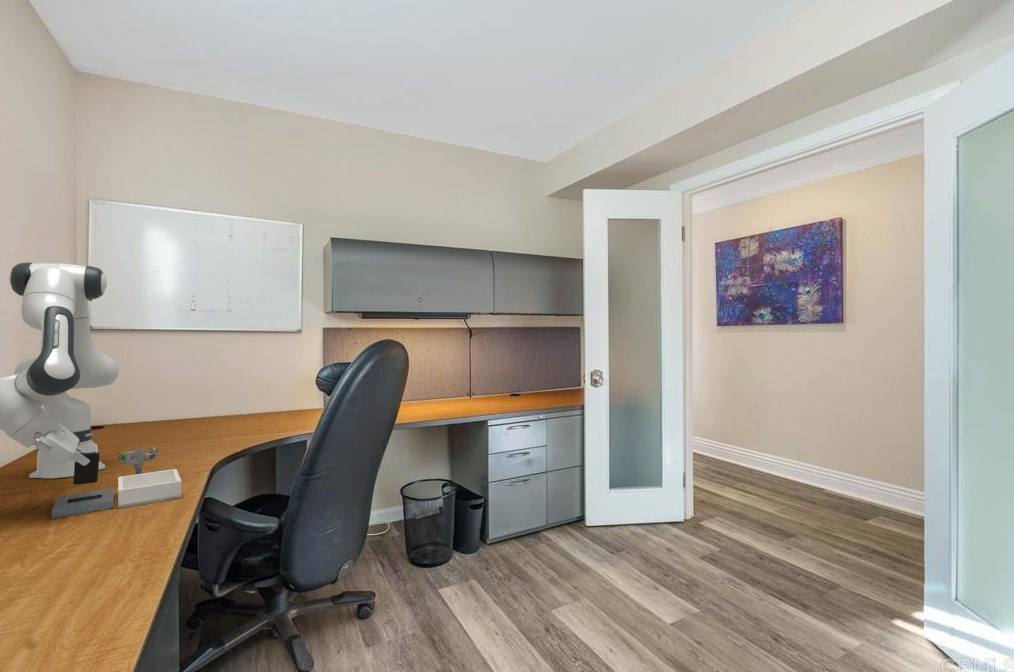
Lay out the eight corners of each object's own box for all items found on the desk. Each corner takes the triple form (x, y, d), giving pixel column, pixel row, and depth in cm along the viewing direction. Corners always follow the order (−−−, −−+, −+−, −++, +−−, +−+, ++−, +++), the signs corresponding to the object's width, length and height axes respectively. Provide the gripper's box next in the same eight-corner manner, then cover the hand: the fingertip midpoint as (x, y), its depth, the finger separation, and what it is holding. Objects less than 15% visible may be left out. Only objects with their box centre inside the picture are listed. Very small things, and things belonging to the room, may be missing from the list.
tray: (118, 493, 141) (118, 476, 141) (176, 484, 150) (176, 468, 150) (118, 508, 129) (118, 490, 129) (181, 497, 137) (181, 481, 137)
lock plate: (57, 503, 132) (57, 496, 132) (113, 494, 140) (113, 488, 140) (51, 519, 121) (51, 511, 121) (113, 508, 129) (113, 501, 129)
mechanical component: (159, 478, 156) (159, 447, 156) (122, 487, 147) (122, 454, 147) (153, 477, 157) (153, 446, 157) (117, 486, 148) (117, 453, 148)
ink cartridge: (97, 480, 134) (100, 451, 134) (97, 482, 132) (99, 453, 132) (73, 482, 131) (76, 453, 131) (73, 485, 129) (75, 454, 129)
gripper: (45, 427, 118) (97, 460, 124) (54, 415, 134) (100, 445, 140) (19, 447, 115) (74, 481, 122) (31, 433, 131) (79, 463, 138)
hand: (88, 461), depth 131 cm, fingers closed on ink cartridge, 1 cm apart
